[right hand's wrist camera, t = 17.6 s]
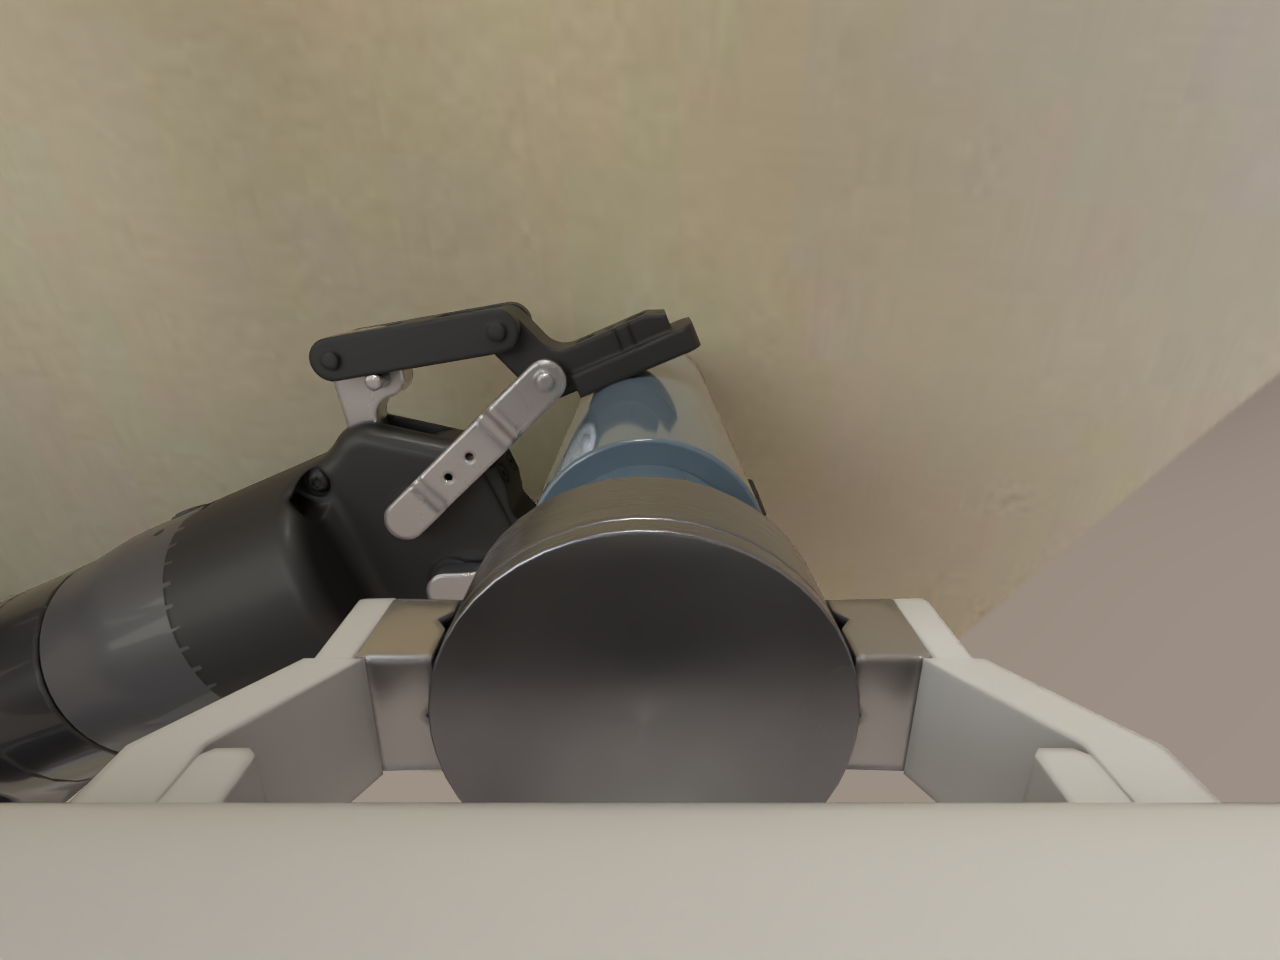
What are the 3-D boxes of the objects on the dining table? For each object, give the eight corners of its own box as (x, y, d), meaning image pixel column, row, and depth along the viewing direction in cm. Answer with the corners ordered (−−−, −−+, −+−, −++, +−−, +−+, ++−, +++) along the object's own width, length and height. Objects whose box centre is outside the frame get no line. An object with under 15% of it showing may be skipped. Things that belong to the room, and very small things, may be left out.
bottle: (724, 436, 28) (817, 660, 13) (612, 477, 28) (575, 737, 13) (683, 321, 26) (733, 422, 11) (565, 367, 27) (465, 521, 12)
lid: (522, 420, 9) (494, 466, 7) (886, 546, 10) (940, 615, 8) (425, 729, 11) (383, 825, 9) (738, 818, 11) (756, 924, 10)
